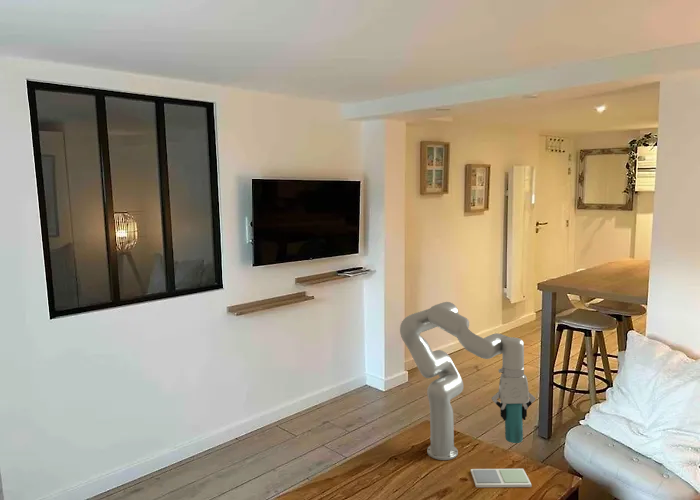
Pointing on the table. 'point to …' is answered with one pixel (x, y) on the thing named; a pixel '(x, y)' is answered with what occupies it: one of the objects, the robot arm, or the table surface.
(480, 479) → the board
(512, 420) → the beverage bottle
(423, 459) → the table surface
